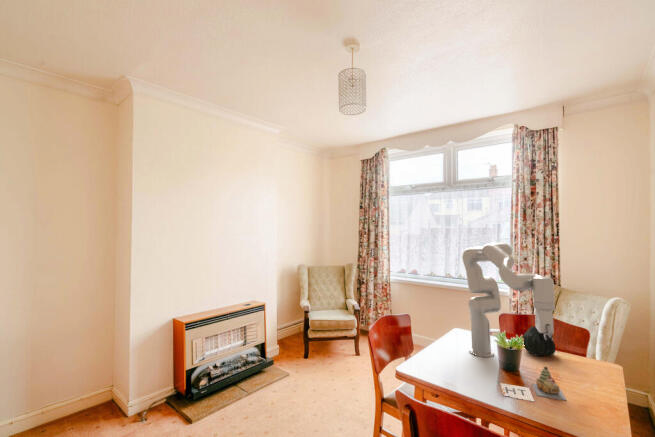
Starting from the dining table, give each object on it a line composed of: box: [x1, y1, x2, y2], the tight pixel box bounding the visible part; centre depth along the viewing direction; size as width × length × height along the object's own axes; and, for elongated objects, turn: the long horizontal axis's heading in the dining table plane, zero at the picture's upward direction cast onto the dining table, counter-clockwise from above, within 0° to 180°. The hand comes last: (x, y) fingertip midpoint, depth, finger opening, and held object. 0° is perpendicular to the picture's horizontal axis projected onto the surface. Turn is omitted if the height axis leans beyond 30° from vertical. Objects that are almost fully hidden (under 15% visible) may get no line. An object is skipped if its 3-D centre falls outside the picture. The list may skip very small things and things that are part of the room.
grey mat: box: [531, 383, 568, 402], centre depth 128 cm, size 10×10×1 cm
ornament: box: [535, 365, 561, 394], centre depth 128 cm, size 8×6×10 cm
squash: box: [522, 325, 556, 357], centre depth 167 cm, size 14×15×15 cm
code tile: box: [500, 382, 535, 402], centre depth 129 cm, size 11×11×1 cm
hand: (545, 345), depth 129 cm, fingers open, 9 cm apart
